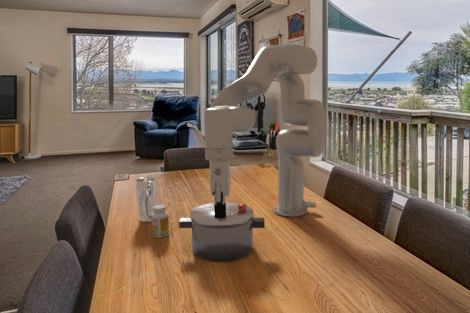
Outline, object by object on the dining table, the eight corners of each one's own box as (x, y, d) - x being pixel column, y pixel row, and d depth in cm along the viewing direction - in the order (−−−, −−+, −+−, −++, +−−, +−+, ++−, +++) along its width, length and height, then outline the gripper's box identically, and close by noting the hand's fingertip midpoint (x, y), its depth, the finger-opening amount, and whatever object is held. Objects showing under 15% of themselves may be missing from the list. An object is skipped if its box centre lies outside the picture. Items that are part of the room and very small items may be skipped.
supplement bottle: (170, 231, 125) (168, 203, 123) (167, 237, 120) (166, 209, 118) (154, 231, 125) (152, 204, 123) (151, 238, 120) (149, 209, 118)
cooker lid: (252, 205, 119) (252, 196, 118) (254, 226, 100) (253, 215, 100) (194, 206, 119) (194, 196, 119) (185, 226, 101) (185, 215, 101)
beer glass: (138, 223, 132) (135, 182, 129) (137, 217, 139) (135, 178, 136) (158, 221, 134) (156, 181, 131) (156, 215, 141) (154, 176, 138)
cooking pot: (262, 235, 120) (263, 206, 118) (265, 262, 103) (265, 228, 101) (186, 235, 121) (184, 206, 119) (175, 262, 104) (174, 228, 102)
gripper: (231, 158, 94) (232, 227, 98) (233, 148, 109) (234, 208, 112) (201, 158, 94) (204, 227, 98) (208, 148, 109) (209, 208, 112)
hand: (220, 217), depth 105 cm, fingers closed
